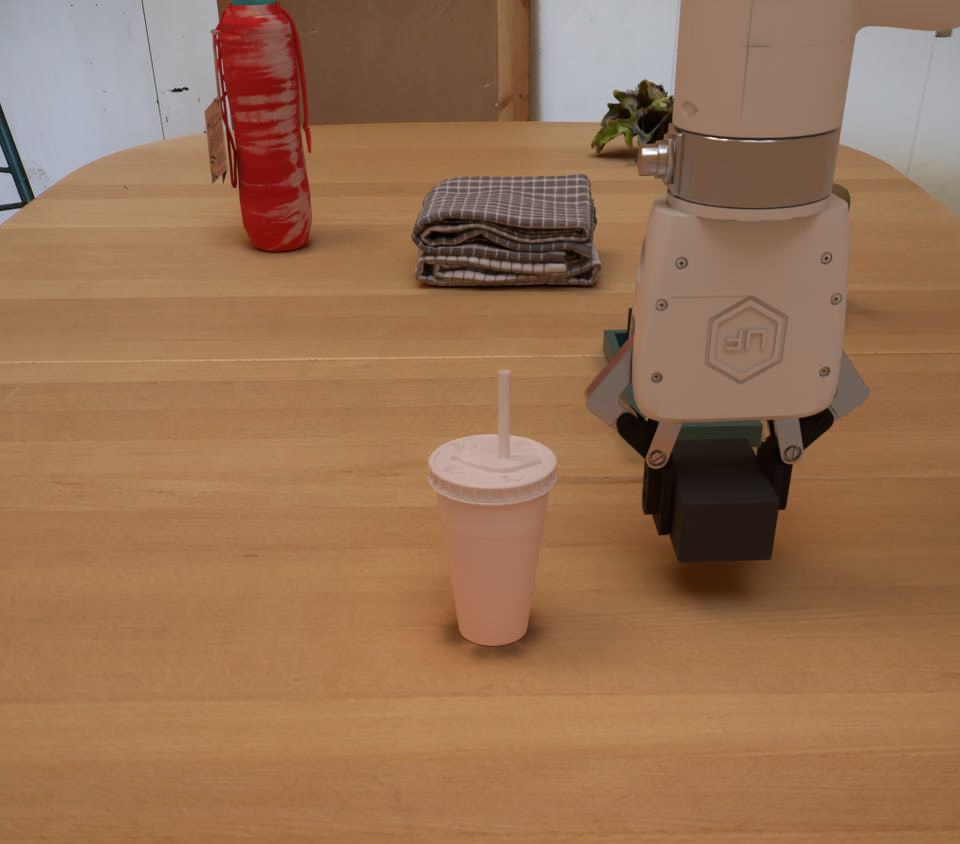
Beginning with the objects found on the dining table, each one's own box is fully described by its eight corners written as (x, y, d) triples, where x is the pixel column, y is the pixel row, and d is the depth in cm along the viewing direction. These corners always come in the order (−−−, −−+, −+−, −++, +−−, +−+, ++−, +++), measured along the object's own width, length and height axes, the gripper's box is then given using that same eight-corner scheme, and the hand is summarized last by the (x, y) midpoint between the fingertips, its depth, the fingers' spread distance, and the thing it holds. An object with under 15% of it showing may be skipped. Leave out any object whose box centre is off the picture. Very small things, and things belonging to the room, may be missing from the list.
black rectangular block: (655, 496, 66) (659, 440, 64) (740, 493, 66) (747, 436, 64) (678, 563, 60) (683, 504, 58) (771, 560, 60) (780, 500, 58)
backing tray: (602, 354, 94) (603, 329, 93) (704, 353, 95) (707, 327, 93) (635, 456, 78) (638, 427, 77) (759, 453, 78) (763, 425, 77)
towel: (426, 249, 121) (423, 169, 117) (596, 250, 120) (601, 170, 116) (412, 291, 109) (408, 204, 105) (601, 292, 108) (606, 205, 104)
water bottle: (202, 253, 121) (160, -25, 106) (227, 234, 127) (191, -31, 112) (310, 257, 119) (282, -25, 104) (330, 237, 126) (307, -31, 110)
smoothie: (544, 665, 58) (552, 400, 49) (422, 654, 58) (409, 392, 50) (559, 601, 63) (568, 351, 54) (446, 592, 63) (438, 344, 55)
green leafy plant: (643, 191, 166) (697, 116, 161) (640, 193, 156) (698, 113, 151) (583, 141, 164) (636, 63, 159) (577, 139, 155) (633, 57, 149)
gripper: (573, 194, 49) (565, 561, 60) (964, 180, 49) (883, 550, 60) (559, 157, 55) (554, 497, 66) (908, 145, 55) (843, 487, 66)
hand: (711, 519), depth 63 cm, fingers closed on black rectangular block, 5 cm apart
